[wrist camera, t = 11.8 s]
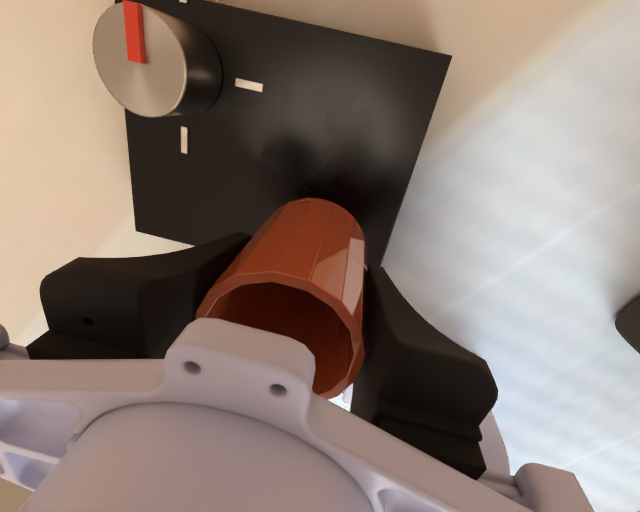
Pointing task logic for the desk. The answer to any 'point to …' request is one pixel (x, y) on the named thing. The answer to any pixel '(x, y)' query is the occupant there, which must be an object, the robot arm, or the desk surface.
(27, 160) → the desk surface
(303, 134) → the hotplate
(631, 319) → the card reader
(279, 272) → the cup
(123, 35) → the dial
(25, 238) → the desk surface
